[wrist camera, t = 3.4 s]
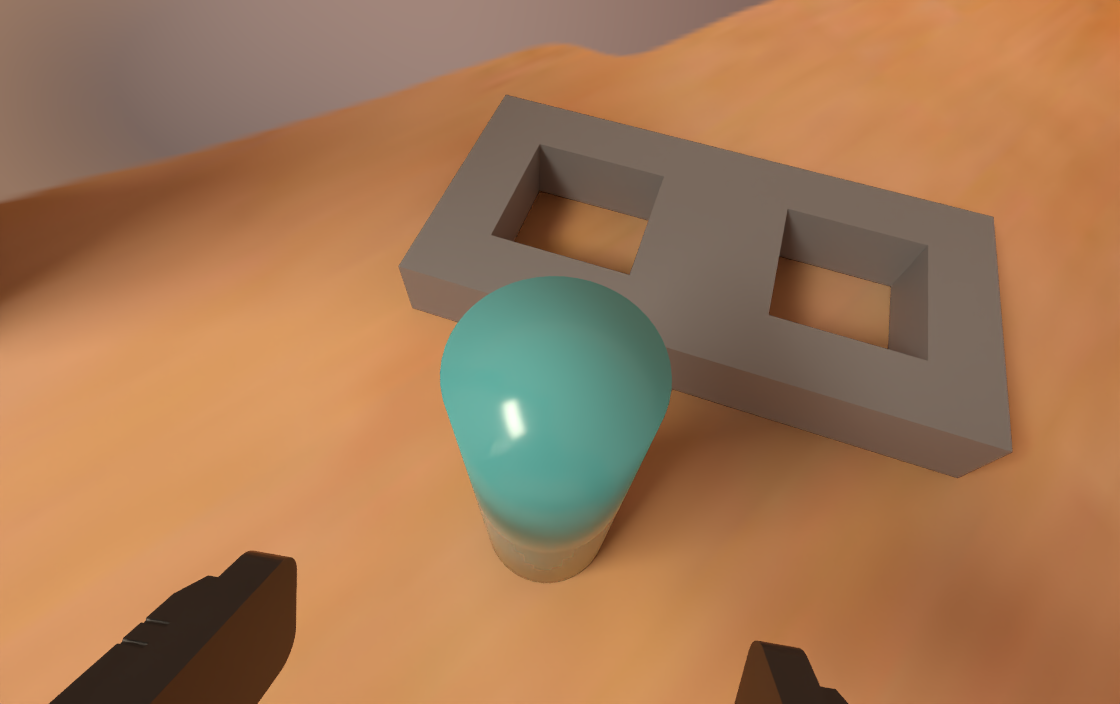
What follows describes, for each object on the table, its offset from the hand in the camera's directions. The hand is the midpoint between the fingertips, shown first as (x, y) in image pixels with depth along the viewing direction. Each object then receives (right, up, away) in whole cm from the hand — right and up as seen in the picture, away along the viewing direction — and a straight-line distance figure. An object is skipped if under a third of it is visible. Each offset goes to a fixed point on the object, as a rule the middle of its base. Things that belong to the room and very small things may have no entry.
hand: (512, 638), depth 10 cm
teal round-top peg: (0, -1, +11) cm, 11 cm away
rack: (+7, +8, +17) cm, 21 cm away
